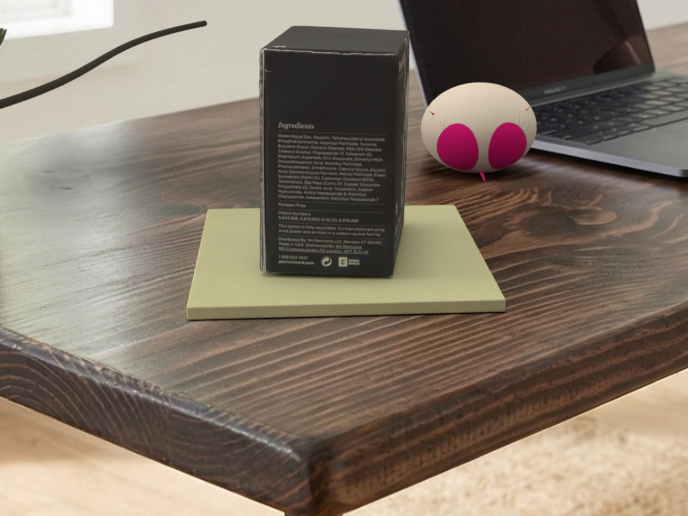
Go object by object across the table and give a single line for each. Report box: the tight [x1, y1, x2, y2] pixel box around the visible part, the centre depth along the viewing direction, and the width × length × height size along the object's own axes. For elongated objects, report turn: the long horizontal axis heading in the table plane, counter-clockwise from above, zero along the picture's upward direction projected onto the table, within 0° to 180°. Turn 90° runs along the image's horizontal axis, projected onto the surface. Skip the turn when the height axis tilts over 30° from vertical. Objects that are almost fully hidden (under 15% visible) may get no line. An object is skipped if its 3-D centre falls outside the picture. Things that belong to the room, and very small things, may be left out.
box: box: [258, 25, 411, 276], centre depth 64 cm, size 11×7×10 cm, turn 178°
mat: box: [185, 204, 507, 321], centre depth 65 cm, size 18×14×1 cm
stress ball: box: [420, 82, 538, 182], centre depth 85 cm, size 8×8×7 cm
